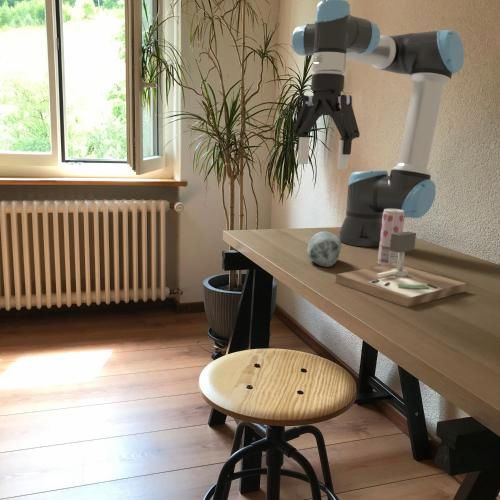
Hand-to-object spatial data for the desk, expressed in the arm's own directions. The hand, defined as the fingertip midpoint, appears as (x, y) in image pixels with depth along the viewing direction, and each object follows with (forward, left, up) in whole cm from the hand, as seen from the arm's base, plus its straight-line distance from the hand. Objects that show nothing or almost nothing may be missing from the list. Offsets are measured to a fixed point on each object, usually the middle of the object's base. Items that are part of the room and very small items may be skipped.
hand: (321, 166), depth 126 cm
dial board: (-9, +20, -26) cm, 34 cm away
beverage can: (-24, +5, -26) cm, 36 cm away
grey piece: (-8, +18, -24) cm, 31 cm away
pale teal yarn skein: (-9, -5, -27) cm, 28 cm away
